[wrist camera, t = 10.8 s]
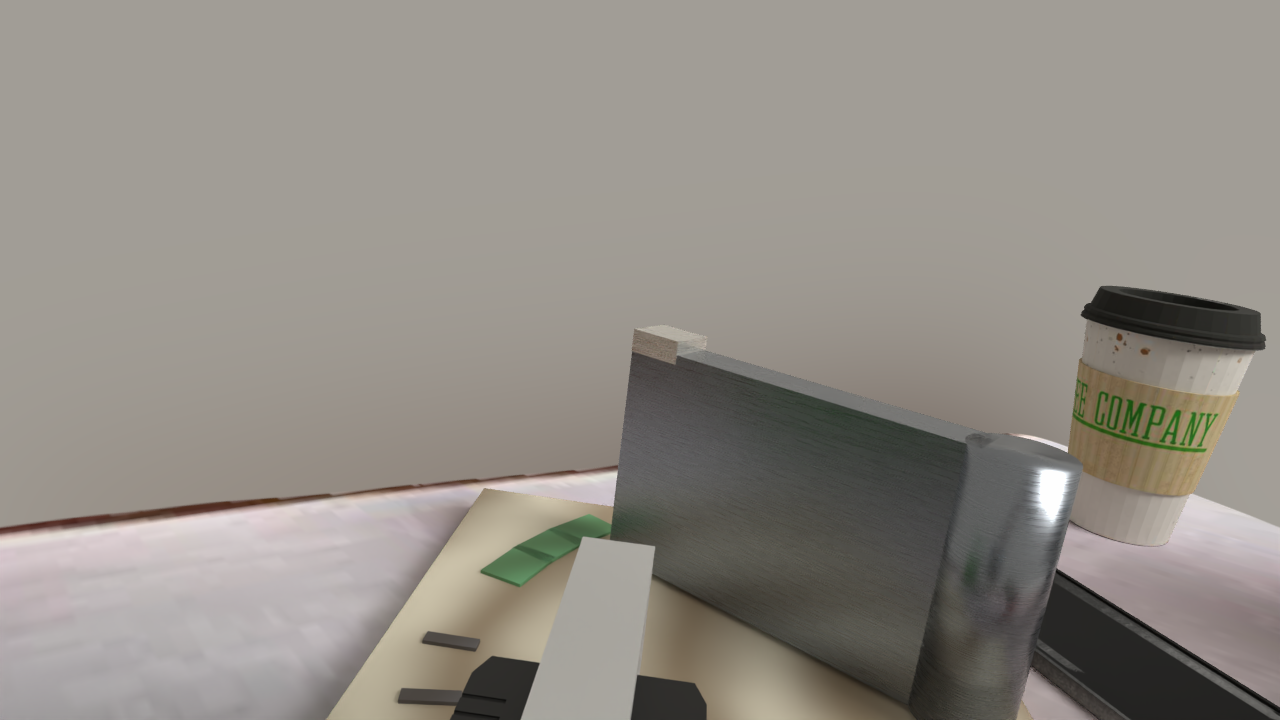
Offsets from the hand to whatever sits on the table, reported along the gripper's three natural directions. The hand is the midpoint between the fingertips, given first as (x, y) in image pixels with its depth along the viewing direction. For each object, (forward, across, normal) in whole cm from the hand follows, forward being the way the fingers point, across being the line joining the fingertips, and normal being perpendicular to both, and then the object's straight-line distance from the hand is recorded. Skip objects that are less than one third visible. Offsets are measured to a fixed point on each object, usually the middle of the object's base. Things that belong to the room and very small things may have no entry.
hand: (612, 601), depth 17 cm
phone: (+20, +21, -12) cm, 32 cm away
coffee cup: (+37, +30, -12) cm, 49 cm away
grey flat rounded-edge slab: (+15, +6, -9) cm, 19 cm away
